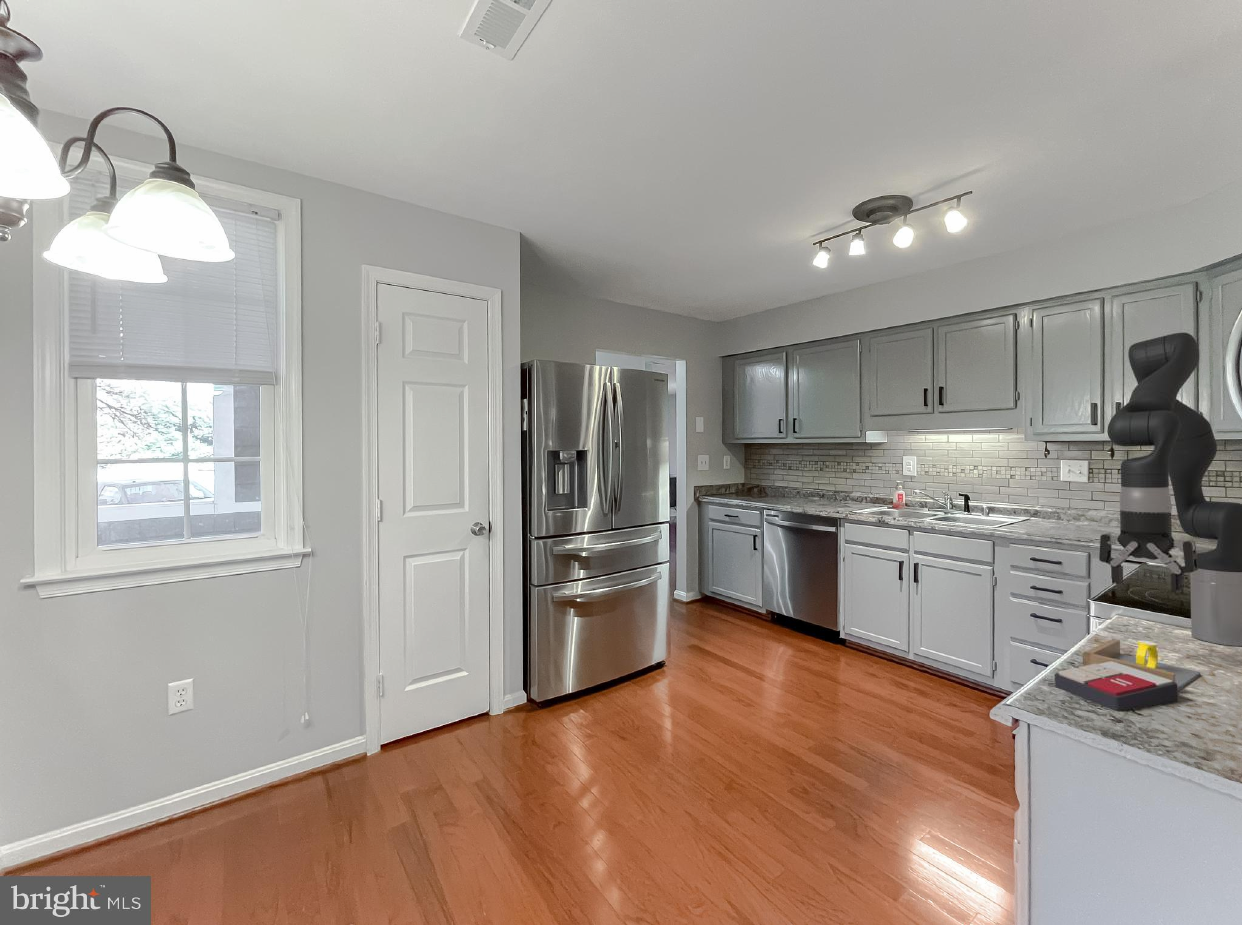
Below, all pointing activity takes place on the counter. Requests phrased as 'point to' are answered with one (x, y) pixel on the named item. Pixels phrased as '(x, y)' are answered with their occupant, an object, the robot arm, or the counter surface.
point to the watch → (1151, 653)
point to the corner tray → (1112, 653)
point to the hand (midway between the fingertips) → (1146, 587)
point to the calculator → (1117, 686)
